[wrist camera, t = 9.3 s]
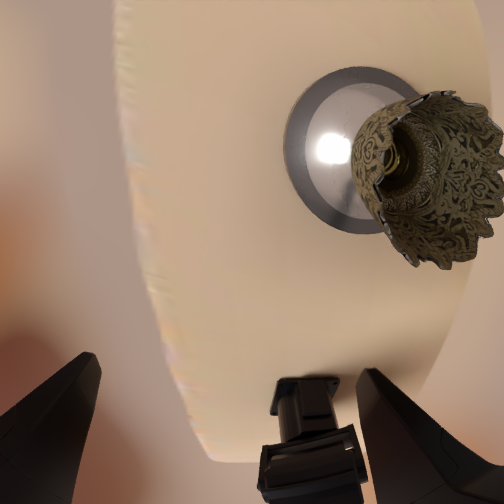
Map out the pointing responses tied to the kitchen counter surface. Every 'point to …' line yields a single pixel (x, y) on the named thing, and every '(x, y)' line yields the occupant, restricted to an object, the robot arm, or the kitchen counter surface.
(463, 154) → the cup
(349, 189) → the gray-rimmed plate
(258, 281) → the kitchen counter surface
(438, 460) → the robot arm
